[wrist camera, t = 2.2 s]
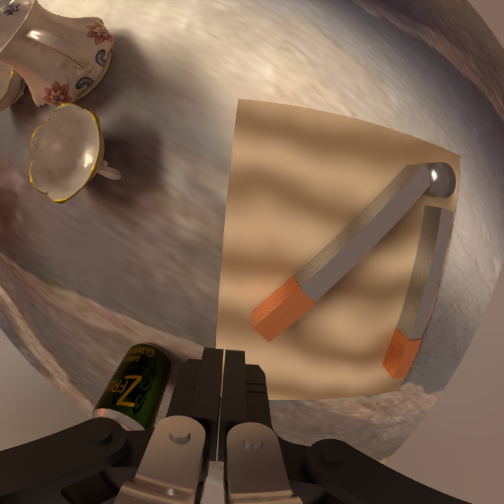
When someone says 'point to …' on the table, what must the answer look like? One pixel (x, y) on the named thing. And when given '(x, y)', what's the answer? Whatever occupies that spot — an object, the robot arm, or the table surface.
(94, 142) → the chinaware
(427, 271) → the tong fixed arm
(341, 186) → the cutting board
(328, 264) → the tong free arm
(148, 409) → the beer can
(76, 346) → the table surface
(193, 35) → the table surface
